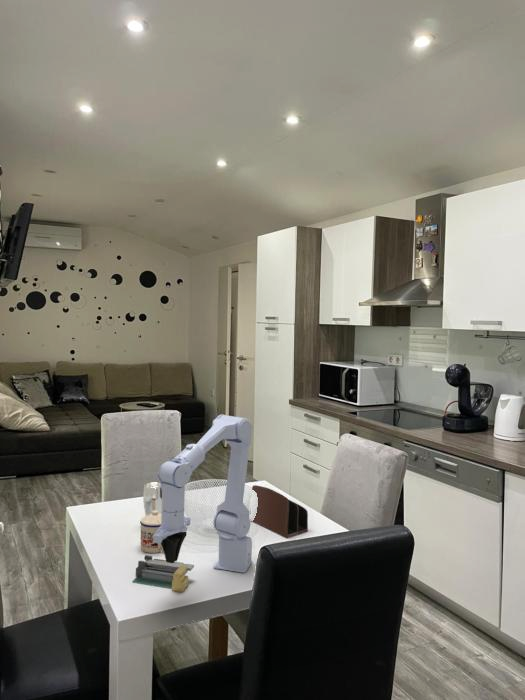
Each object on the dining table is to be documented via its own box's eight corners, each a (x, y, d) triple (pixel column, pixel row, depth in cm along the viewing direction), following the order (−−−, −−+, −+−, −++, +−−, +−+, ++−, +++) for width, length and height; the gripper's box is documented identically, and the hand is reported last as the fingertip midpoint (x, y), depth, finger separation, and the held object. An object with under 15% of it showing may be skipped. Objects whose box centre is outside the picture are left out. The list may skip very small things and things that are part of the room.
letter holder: (286, 539, 184) (287, 497, 183) (249, 521, 199) (250, 482, 199) (308, 532, 190) (309, 492, 190) (270, 515, 206) (272, 478, 205)
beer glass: (165, 525, 193) (166, 482, 192) (160, 532, 186) (161, 488, 185) (146, 523, 194) (147, 481, 193) (140, 531, 187) (140, 487, 186)
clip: (188, 584, 150) (189, 567, 150) (182, 592, 146) (182, 574, 146) (178, 582, 151) (178, 565, 151) (171, 590, 147) (171, 573, 146)
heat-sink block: (187, 570, 158) (187, 560, 158) (171, 588, 148) (171, 577, 148) (150, 565, 161) (150, 555, 161) (132, 582, 151) (132, 571, 151)
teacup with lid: (133, 550, 172) (134, 513, 171) (151, 539, 180) (151, 504, 179) (165, 558, 167) (166, 519, 166) (182, 547, 175) (183, 510, 174)
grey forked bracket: (152, 571, 158) (152, 555, 158) (144, 578, 153) (144, 562, 153) (143, 569, 158) (143, 554, 158) (135, 576, 154) (135, 561, 154)
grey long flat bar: (194, 567, 153) (194, 564, 153) (190, 571, 151) (190, 567, 151) (145, 561, 157) (145, 558, 157) (141, 565, 155) (141, 561, 154)
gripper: (170, 520, 134) (169, 575, 134) (200, 503, 147) (199, 553, 148) (146, 515, 137) (145, 569, 137) (177, 499, 150) (176, 548, 151)
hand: (171, 561), depth 143 cm, fingers closed
